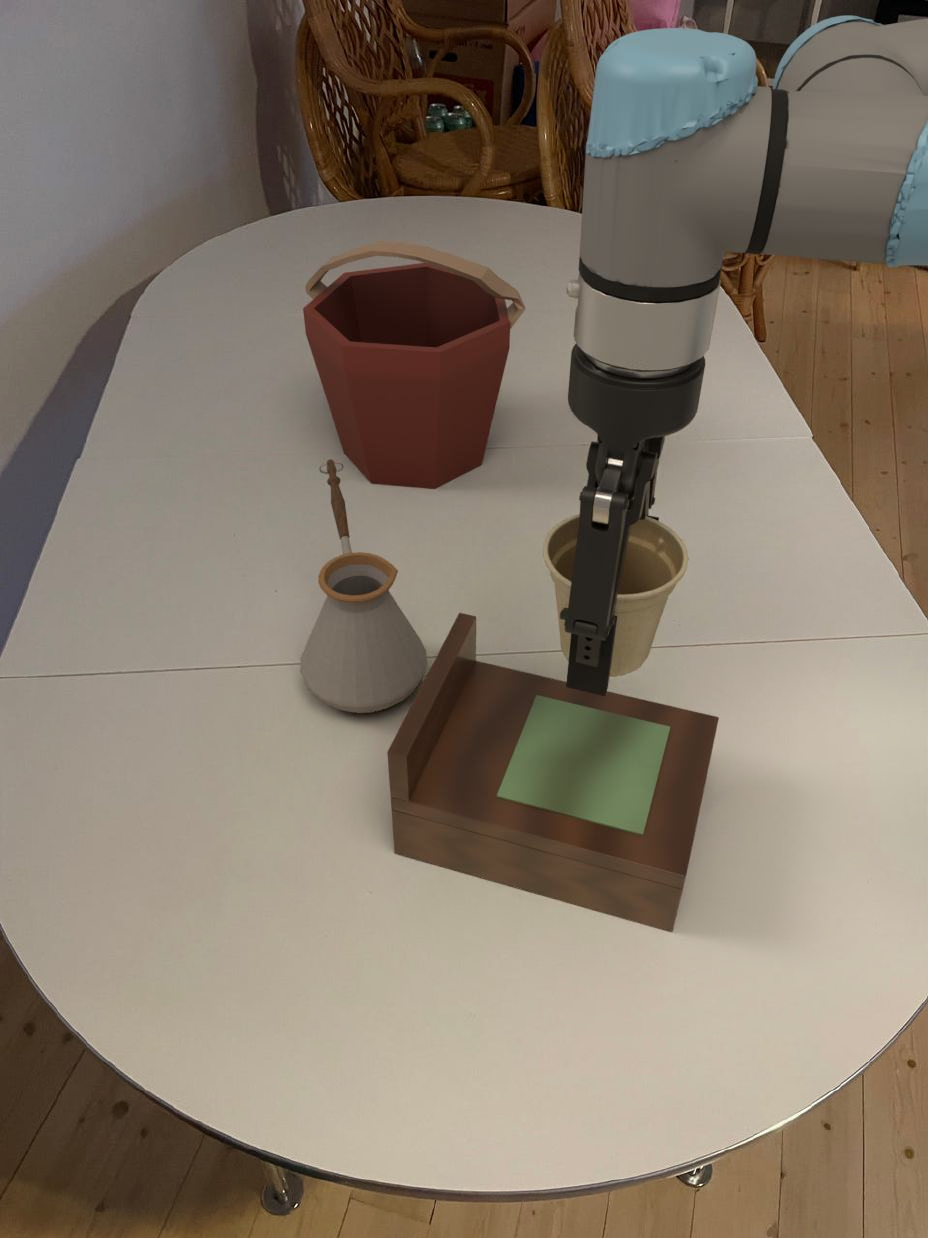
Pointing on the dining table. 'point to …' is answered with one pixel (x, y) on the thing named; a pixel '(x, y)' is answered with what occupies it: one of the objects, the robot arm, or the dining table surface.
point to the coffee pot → (360, 629)
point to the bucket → (411, 360)
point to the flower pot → (624, 585)
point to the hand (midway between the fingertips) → (602, 644)
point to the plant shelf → (549, 785)
